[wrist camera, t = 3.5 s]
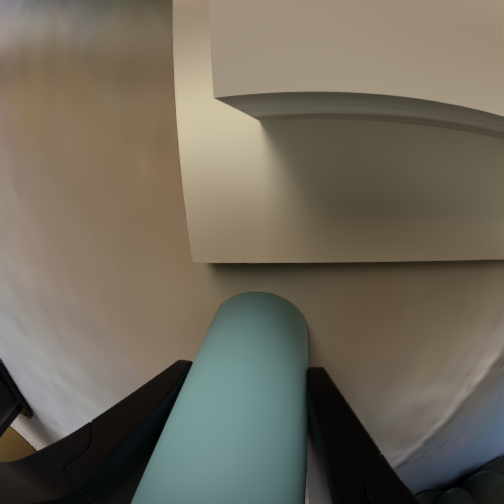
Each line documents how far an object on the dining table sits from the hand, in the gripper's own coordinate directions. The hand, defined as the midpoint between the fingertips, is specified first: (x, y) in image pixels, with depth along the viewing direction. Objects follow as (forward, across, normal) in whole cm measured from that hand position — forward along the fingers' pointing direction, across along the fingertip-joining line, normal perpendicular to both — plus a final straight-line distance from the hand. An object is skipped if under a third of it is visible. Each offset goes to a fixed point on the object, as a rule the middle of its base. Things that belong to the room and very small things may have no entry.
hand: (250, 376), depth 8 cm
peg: (+2, 0, 0) cm, 2 cm away
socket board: (+2, -4, -9) cm, 10 cm away
